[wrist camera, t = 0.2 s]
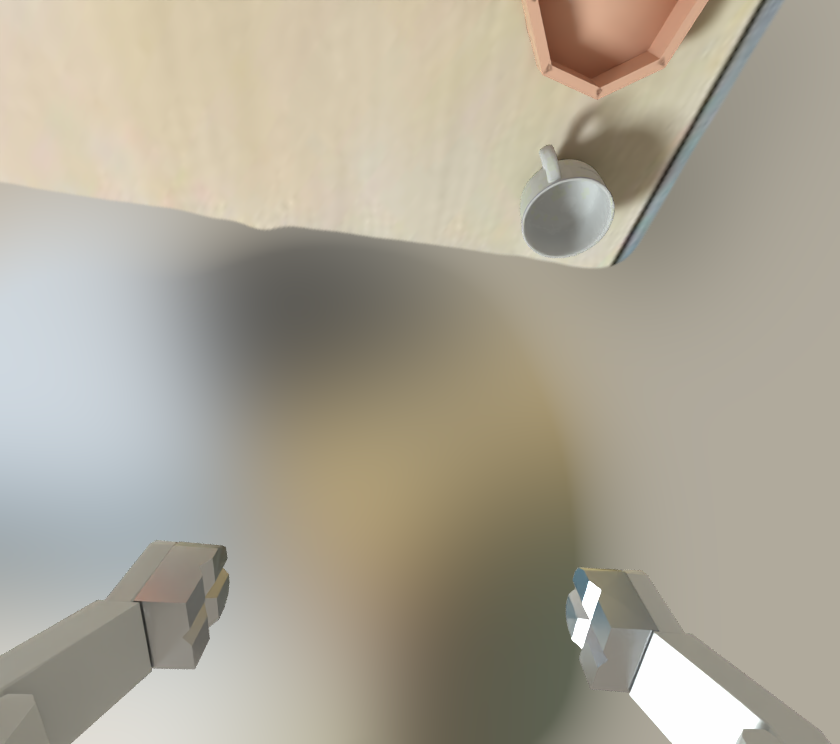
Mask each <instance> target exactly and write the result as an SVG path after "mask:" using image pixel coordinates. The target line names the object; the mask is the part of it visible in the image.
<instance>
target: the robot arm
mask: <svg viewBox="0 0 840 744" xmlns="http://www.w3.org/2000/svg"><path fill="white" fill-rule="evenodd" d="M226 560H227V551H226V547H224V546H222V545H212V544H201V543H189V542H172V541H161V540H156V541H154V542H152V543H151V544H149V546H148V547H147V548H146V549H145V550H144V552H143V553H142V554H141V555H140V557H139V558H138V559H137V560H136V562H135V563H134V564H133V565H132V567H131V568H130V569H129V570H128V572H127V573H126V574H125V576H124V577H123V578H122V579H121V580H120V582H119V583H118V584H117V585H116V587H115V588H114V589H113V590H112V592H111V593H110V594H109V595H108V596H107V598H106V599H105V600H96V601H95V602H93V603H91V604H89V605H88V606H86V607H84V608H82V609H81V610H79V611H77V612H76V613H74V614H72V615H70V616H68V617H67V618H65V619H63V620H62V621H60V622H58V623H56V624H55V625H53V626H51V627H49V628H48V629H46V630H44V631H42V632H41V633H39V634H37V635H35V636H34V637H32V638H30V639H29V640H27V641H25V642H23V643H22V644H20V645H18V646H16V647H15V648H13V649H11V650H9V651H8V652H6V653H4V654H2V655H1V656H0V744H71V743H72V742H73V741H74V740H75V739H76V738H78V737H79V736H80V735H81V734H82V733H83V732H84V731H85V730H86V729H88V728H89V727H90V726H91V725H92V724H93V723H94V722H95V721H97V720H98V719H99V718H100V717H101V716H102V715H103V714H104V713H106V712H107V711H108V710H109V709H110V708H111V707H112V706H113V705H114V704H116V703H117V702H118V701H119V700H120V699H121V698H122V697H124V696H125V695H126V694H127V693H128V692H129V691H130V690H131V689H132V688H134V687H135V686H136V685H137V684H138V683H139V682H140V681H141V680H143V679H144V678H145V677H146V676H147V675H148V674H149V673H150V672H151V671H152V668H157V669H195V668H196V666H197V664H198V662H199V659H200V658H201V656H202V653H203V651H204V649H205V647H206V645H207V643H208V641H209V639H210V637H209V627H210V626H211V625H212V624H213V623H215V622H216V621H218V620H219V618H220V616H221V614H222V611H223V610H224V607H225V603H226V600H227V596H228V592H229V574H228V573H227V572H226V571H225V569H224V568H223V566H224V564H225V562H226ZM573 582H574V585H575V587H576V589H574V590H573V591H572V592H571V593H570V594H568V598H567V603H566V620H567V625H568V629H569V632H570V635H571V638H572V640H573V641H574V642H575V643H576V644H578V646H579V647H581V648H582V650H581V654H580V657H579V660H580V663H581V665H582V668H583V671H584V673H585V676H586V679H587V681H588V684H589V687H590V689H592V690H605V691H617V692H629V693H630V696H631V697H632V698H633V699H634V700H635V702H636V703H637V704H638V705H639V706H640V707H641V708H642V710H643V711H644V712H645V713H646V714H647V715H648V716H649V718H650V719H651V720H652V721H653V722H654V723H655V724H656V725H657V726H658V728H659V729H660V730H661V731H662V732H663V733H664V734H665V736H666V737H667V738H668V739H669V740H670V741H671V742H672V744H831V743H830V742H829V741H828V739H827V738H826V737H825V735H824V734H823V733H822V731H821V730H819V729H818V728H817V727H815V726H814V725H813V724H811V723H810V722H809V721H807V720H806V719H805V718H803V717H802V716H801V715H799V714H798V713H797V712H795V711H794V710H793V709H791V708H790V707H789V706H787V705H786V704H785V703H783V702H782V701H781V700H779V699H778V698H777V697H775V696H774V695H773V694H771V693H770V692H769V691H767V690H766V689H765V688H763V687H762V686H761V685H759V684H758V683H757V682H755V681H754V680H753V679H751V678H750V677H749V676H747V675H746V674H745V673H743V672H742V671H741V670H739V669H738V668H737V667H735V666H734V665H733V664H731V663H730V662H729V661H727V660H726V659H725V658H723V657H722V656H721V655H719V654H718V653H717V652H715V651H714V650H713V649H711V648H710V647H709V646H707V645H706V644H705V643H703V642H702V641H701V640H699V639H698V638H697V637H695V636H694V635H692V634H688V633H685V632H684V631H683V629H682V628H681V626H680V625H679V623H678V621H677V620H676V618H675V617H674V615H673V614H672V613H671V611H670V609H669V608H668V606H667V604H666V603H665V601H664V600H663V598H662V597H661V595H660V594H659V592H658V591H657V589H656V587H655V586H654V584H653V583H652V581H651V580H650V578H649V577H648V575H647V574H646V573H645V572H643V571H641V570H618V569H600V568H580V567H578V569H577V570H576V571H575V573H574V577H573Z"/></svg>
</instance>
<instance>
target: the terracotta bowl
mask: <svg viewBox="0 0 840 744" xmlns="http://www.w3.org/2000/svg"><path fill="white" fill-rule="evenodd" d="M707 2H708V0H522V5H523V9H524V13H525V20H526V26H527V31H528V34H529V38H530V41H531V44H532V48H533V53H534V57H535V61H536V66H537V67H538V69H539V70H540V72H541V73H542V74H543V75H544V76H546V77H548V78H551V79H553V80H555V81H557V82H559V83H562V84H564V85H566V86H568V87H570V88H573V89H575V90H577V91H579V92H581V93H584V94H586V95H588V96H590V97H592V98H595V99H597V100H598V99H600V98H602V97H604V96H606V95H608V94H610V93H613V92H615V91H617V90H619V89H621V88H623V87H625V86H627V85H629V84H631V83H634V82H636V81H638V80H640V79H642V78H644V77H646V76H648V75H650V74H653V73H655V72H657V71H659V70H661V69H663V68H665V67H666V65H667V64H668V62H669V61H670V59H671V58H672V56H673V55H674V53H675V51H676V50H677V48H678V47H679V45H680V44H681V42H682V41H683V39H684V38H685V36H686V34H687V33H688V31H689V30H690V28H691V27H692V25H693V24H694V22H695V21H696V19H697V17H698V16H699V14H700V13H701V11H702V10H703V8H704V7H705V5H706V4H707Z"/></svg>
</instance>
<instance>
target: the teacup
mask: <svg viewBox="0 0 840 744" xmlns="http://www.w3.org/2000/svg"><path fill="white" fill-rule="evenodd" d="M539 154H540V158H541V161H542V165H543V168H541V169H540V170H539V171H537V172H536V173H535V174H534V175H533V176H532V177H531V179H530V180H529V181H528V183H527V184H526V186H525V188H524V190H523V193H522V196H521V201H520V215H521V223H522V233H523V237H524V240H525V242H526V243H527V245H528V246H529V247H530V248H531V249H532V250H533V251H535V252H536V253H538V254H540V255H542V256H545V257H550V258H565V257H570V256H575V255H577V254H580V253H582V252H584V251H586V250H588V249H589V248H591V247H592V246H594V245H595V244H596V243H597V242H599V241H600V240H601V239H602V237H603V236H604V235H605V233H606V232H607V231H608V229H609V227H610V225H611V223H612V220H613V216H614V211H615V210H614V207H615V206H614V200H613V197H612V195H611V193H610V191H609V190H608V189H607V187H606V185H605V184H604V182H603V180H602V179H601V177H600V175H599V174H598V173H597V172H596V171H595V170H594V169H593V168H592V167H591V166H590V165H588V164H586V163H584V162H582V161H578V160H572V159H566V160H559V161H558V159H557V156H556V153H555V150H554V147H553V146H552V145H546V146H544V147H543V148H541V149H540V151H539Z"/></svg>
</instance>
